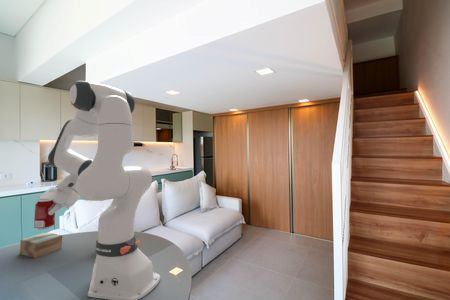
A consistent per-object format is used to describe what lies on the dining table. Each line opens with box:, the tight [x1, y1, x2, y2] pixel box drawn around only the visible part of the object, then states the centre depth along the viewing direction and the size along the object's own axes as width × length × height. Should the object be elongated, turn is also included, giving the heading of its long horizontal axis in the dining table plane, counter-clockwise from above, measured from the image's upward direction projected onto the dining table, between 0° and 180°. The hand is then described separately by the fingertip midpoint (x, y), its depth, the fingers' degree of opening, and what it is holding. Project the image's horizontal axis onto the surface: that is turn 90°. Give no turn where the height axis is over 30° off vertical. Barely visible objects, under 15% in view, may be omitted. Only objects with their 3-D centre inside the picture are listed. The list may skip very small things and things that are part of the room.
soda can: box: [33, 198, 56, 230], centre depth 92 cm, size 7×7×12 cm
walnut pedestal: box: [19, 231, 63, 259], centre depth 92 cm, size 10×10×6 cm
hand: (43, 212), depth 91 cm, fingers closed on soda can, 6 cm apart
